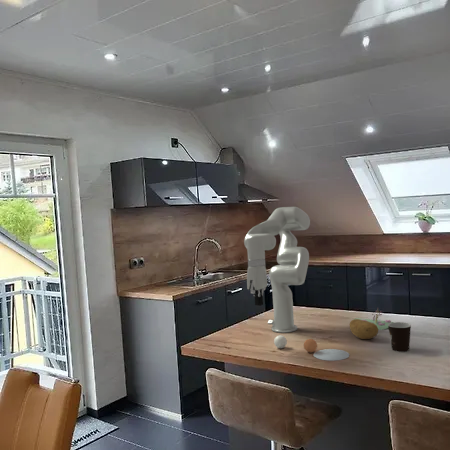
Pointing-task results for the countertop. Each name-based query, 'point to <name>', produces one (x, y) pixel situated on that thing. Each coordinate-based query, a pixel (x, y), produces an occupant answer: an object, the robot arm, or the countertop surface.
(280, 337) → the cue ball
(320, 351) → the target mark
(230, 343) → the countertop surface
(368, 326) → the potato
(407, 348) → the coffee mug
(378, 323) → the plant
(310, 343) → the object ball
